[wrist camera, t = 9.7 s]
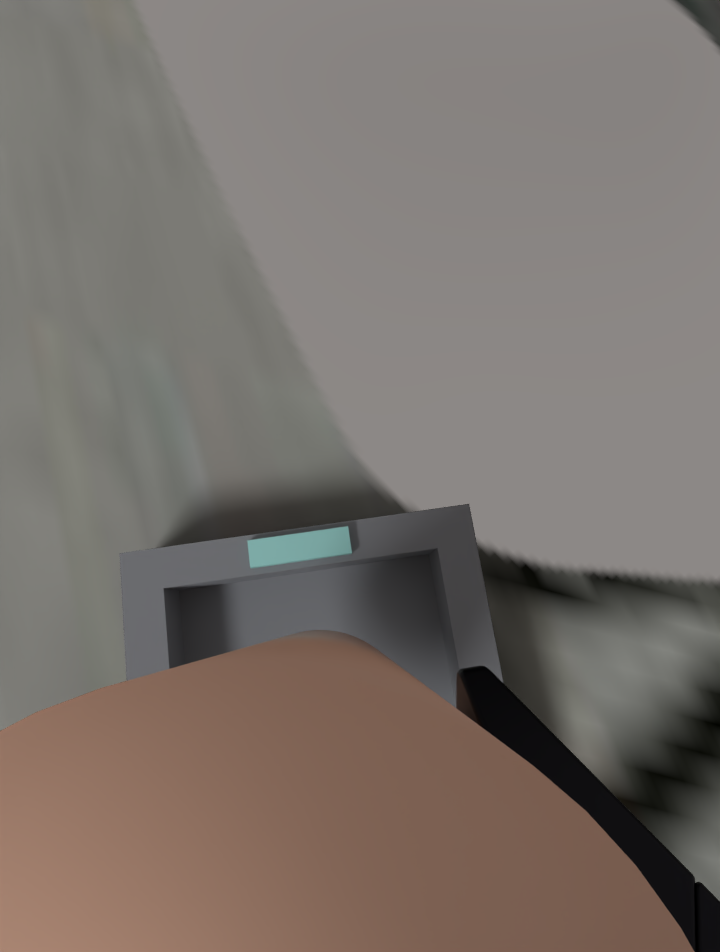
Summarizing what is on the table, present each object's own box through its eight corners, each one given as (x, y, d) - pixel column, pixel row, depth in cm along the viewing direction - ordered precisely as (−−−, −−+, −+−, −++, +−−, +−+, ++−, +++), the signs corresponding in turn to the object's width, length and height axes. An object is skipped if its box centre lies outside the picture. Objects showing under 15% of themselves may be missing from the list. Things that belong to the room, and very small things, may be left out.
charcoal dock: (516, 853, 18) (547, 893, 16) (168, 918, 18) (139, 970, 15) (454, 516, 21) (471, 502, 18) (145, 560, 20) (115, 552, 17)
